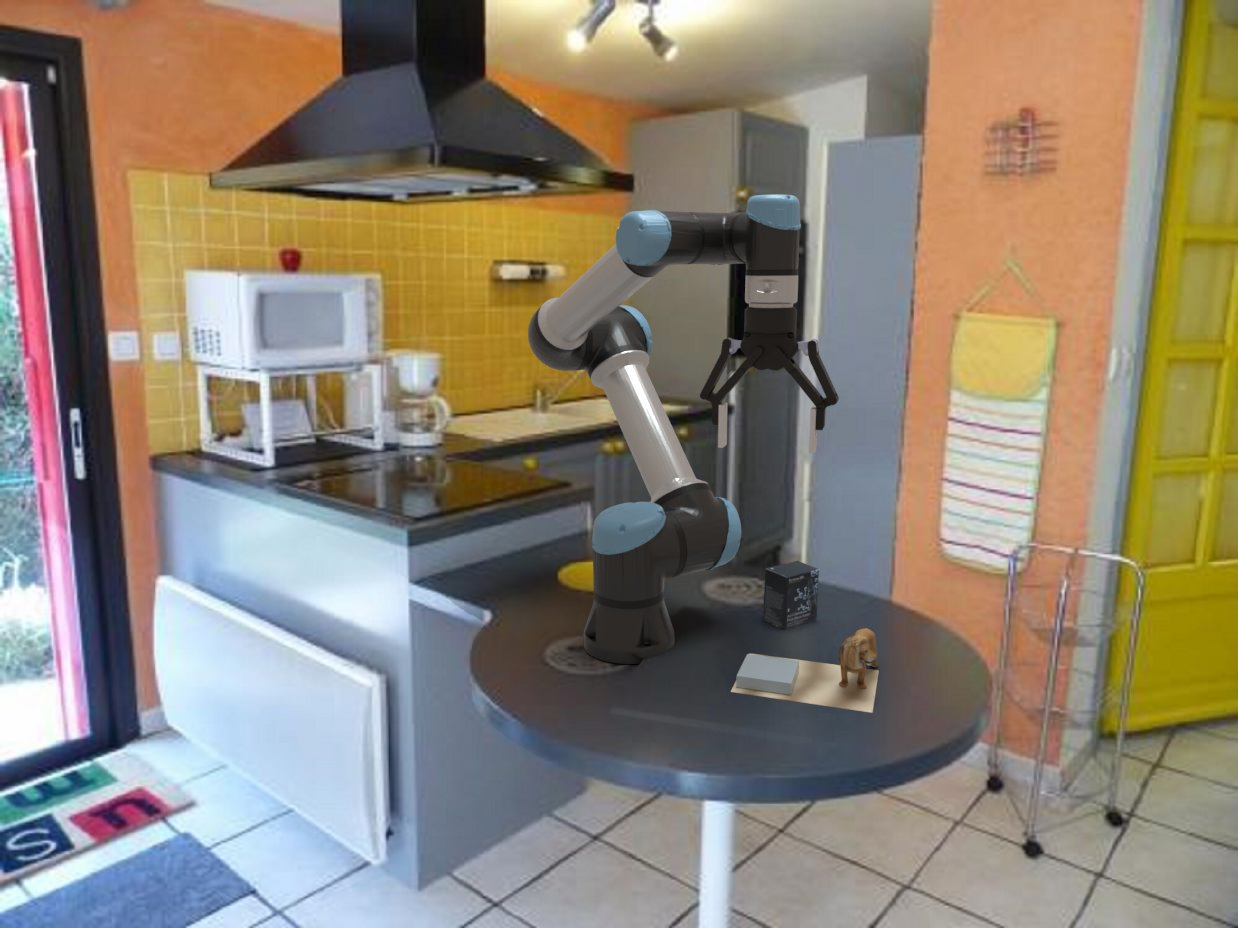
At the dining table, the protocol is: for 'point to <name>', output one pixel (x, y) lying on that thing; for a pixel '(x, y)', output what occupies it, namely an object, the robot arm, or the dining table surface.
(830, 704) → the board
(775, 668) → the block
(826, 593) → the dining table surface
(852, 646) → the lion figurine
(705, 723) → the dining table surface
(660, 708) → the dining table surface
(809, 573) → the box
